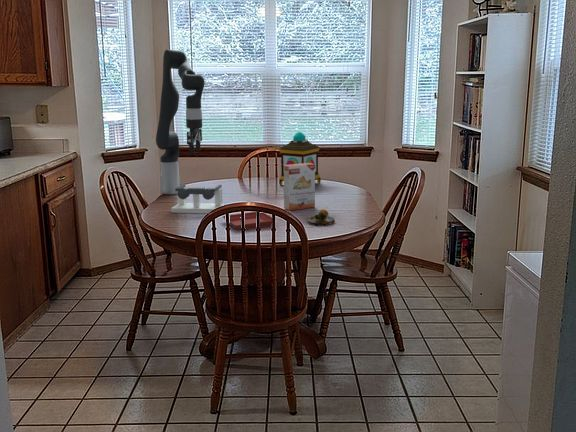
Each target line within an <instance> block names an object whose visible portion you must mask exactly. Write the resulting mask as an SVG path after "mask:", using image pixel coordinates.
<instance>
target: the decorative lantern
mask: <svg viewBox="0 0 576 432" xmlns="http://www.w3.org/2000/svg"><path fill="white" fill-rule="evenodd" d="M278 150H279V153H280V164H281V165H280V169H281V174H280V177H279V180H278V184H279V185H280V186H283V182H284V165H291V164H302V163H312V164H315V181H317V182H316V183H317V184H320V183H321V176H320V173H319V151H320V147H319V146H318V145H317V144H314V143H312V142H311V141H309V139H307V138H306V135H305V134H304V133H303V132H301V131H297V132H296V133H295V134H294V135H293V136H292V140H290V141H289V142H288V143H287V144H285V145H282V146H280V148H279V149H278Z"/></svg>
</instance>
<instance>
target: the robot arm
mask: <svg viewBox="0 0 576 432" xmlns="http://www.w3.org/2000/svg"><path fill="white" fill-rule="evenodd" d="M162 59H163V60H162V61H163V62H162V83H161V84H162V86H161V95H160V104H159V105H160V108H159V117H158V125H157V130H156V136H155V142H156V146H157V148H158V149H160V150H163V151H164V153H163V154H161V156H160V159H159V160H160V168H161V169H160V173H161V175H160V178H159V179H160V180H159V181H160V191H161V192H160V193H161V194H162V195H178V191H175V188H177V187H179V186H181V185H180V172H179V157H180V140H179V136H178V134H177V132H175V131H174V130H173V131H172V130H170V127H171V125H172V124H171V123H172V121H173V120H174V118H175V116H176V114H177V112H178V109H179V103H180V93H179V90H178V89H177V86H176V85H175V83H174V80H173V78H172V74H171V70H172V69H174V70H177V73H178V76H179V78H180V80H181V87H182V88H183V90H185V91H195V92H194V93H193V94H190V95H187V96H186V98H185V107H186V109H185V110H186V111H185V121H186V122H185V125H186V126H185V127H186V129H189V131H187V132H186V145H187V146H188V147H189V151H188V152H189V154H195V151H198V152H199V151H201V143H202V141H203V129H202V128H203V111H202V96H203V91H204V88H205V81H206V80H205V78H204V77H203V75H201V74H196V72H195V71H194V70H193V68H192V67H191V65H190V62H189V60H188V56H187V54H186V53H185V51H183V50H177V49H175V50H174V49H165V50H164V52H163V58H162Z"/></svg>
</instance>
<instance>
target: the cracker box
mask: <svg viewBox="0 0 576 432" xmlns="http://www.w3.org/2000/svg"><path fill="white" fill-rule="evenodd" d="M315 207H316V180H315V164H312V163H302V164H291V165H284V181H283V208H284V210H288V211H296V210H297V211H298V210H305V209H311V208H315Z"/></svg>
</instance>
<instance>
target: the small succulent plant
mask: <svg viewBox="0 0 576 432" xmlns="http://www.w3.org/2000/svg"><path fill="white" fill-rule="evenodd" d="M327 207H328V206H326V208H325V209H324V208H321V209H319V212H317V214H314V216H310V217H307V218H306V220H307V221H308V222H309V223H311V224H315V225H317V226H318V227H322V226H324V225H326V226H331V225H332V224H333V225H334V224H335V222H336V220H335V218H334V217H332V216H329V212H328V211H327Z"/></svg>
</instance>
